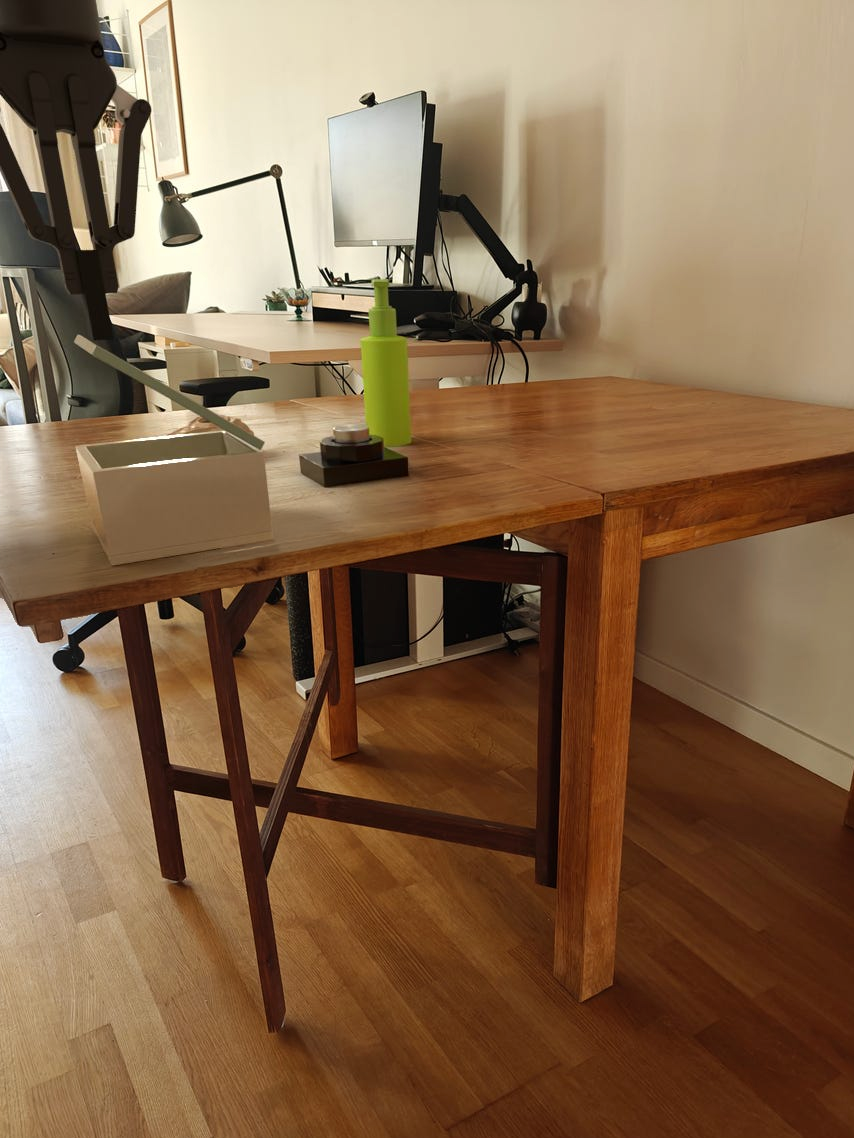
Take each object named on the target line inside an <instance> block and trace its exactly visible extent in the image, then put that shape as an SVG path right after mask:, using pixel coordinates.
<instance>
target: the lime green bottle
mask: <svg viewBox="0 0 854 1138" xmlns="http://www.w3.org/2000/svg"><path fill="white" fill-rule="evenodd" d="M370 284H371V287H373V290H374V291H373V293H374V294H373V295H374V305H373V306H372V307H371V308H369V309H368V322H369V323H368V324H369V325H368V326H369V336H364V337H362V338H360V339H359V340H360V355H361V371H362V384H363V401H364V416H365V417H364V418H365V425H366V426H368V427H369V434H370V435H377V436H380V437H382V438H383V441H384V447H386V448H391V447H392V448H393V447H401V446H402V447H403V446H406V445H409V444H411V443H412V425H411V424H412V420H411V401H410V399H411V398H410V378H409V377H410V376H409V353H408V352H409V351H408V338H407V337H404V336H401V335H398V330H397V329H398V328H397V327H398V326H397V311H396V310H397V309H396V308H394V307H393V306H392V305H389V304H390V303H389V287H390V280H389V279H388V278H376V279H375V278H372V279H371V282H370Z"/></svg>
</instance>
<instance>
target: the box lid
mask: <svg viewBox="0 0 854 1138" xmlns="http://www.w3.org/2000/svg"><path fill="white" fill-rule="evenodd" d="M73 343H74V344H75V345H77V346H78V347H80V348H81V349H83V350H84V351H85V352H87V353H89V354H90V355H92V356H93V357H94V358H96V359H98V360H100V361H102V362H104V363H105V364H107V365H109V366H110V367H113V368H115V369H116V370H118V371H119V372H122V373H123V374H125V375H126V376H128V377H130V378H132V379H134V380H135V381H137V382H139V383H141V384H142V385H144V386H146V387H148V388H150V389H151V390H153V391H155V392H157V393H158V394H160V395H162V396H164V397H165V398H168V399H169V400H170V401H173V402H174V403H176V404H178V405H180V406H181V407H183V408H184V409H187V410H188V411H190V412H192V413H194V414H196V415H197V416H198V417H200V416H201V417H203V418H204V419H206V420H208V421H210V422H211V423H213V424H215V425H217V426H218V427H220V428H222V429H224V430H226V431H227V432H229V433H231V434H233V435H234V436H236V437H238V438H240V439H241V440H243V441H245V442H247V443H248V444H250V445H252V446H254V447H256V448H257V449H259V450H261V451H262V449H263V448H264V445H265V444H266V442H265V440H263V439H261V438H259V437H258V436H255V434H254V435H252V434H250V433H249V432H247V431H245V430H244V429H242V428H240V427H239V426H237V425H235V424H233V423H232V422H230V421H228V420H227V419H225V418H223V417H221V416H220V415H221V414H218V413H216V412H215V411H213V410H211V409H209V408H207V407H205V406H204V405H203V404H200V403H199V402H197V401H195V400H194V399H192V398H190V397H188V396H187V395H185V394H183V393H181V392H180V391H178V390H177V389H174V388H173V387H171V386H169V385H168V384H165V383H164V382H162V381H161V380H159V379H157V378H155V377H153V376H151V375H150V374H148V372H147V373H146V372H145V371H143V370H141V369H140V368H138V367H136V366H135V365H133V364H131V363H129V362H128V361H126V360H125V359H122V358H120V357H118V356H117V355H116V354H114V353H112V352H110V351H109V350H107V349H105V348H104V347H102V346H100V345H98V344H96V343H94V342H93V341H91V340H89V339H88V338H86V337H84V336H83V335H80V334H77V335H76V337H75V338H74V341H73Z"/></svg>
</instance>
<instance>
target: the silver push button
mask: <svg viewBox="0 0 854 1138" xmlns="http://www.w3.org/2000/svg"><path fill="white" fill-rule="evenodd" d="M332 436H333V437H334V443H339V444H358V443H366V442H369V441H370V436H369V427H368V426H366V424H358V423H352V424H350V423H349V424H339V425H336V426H334V427H333V428H332Z"/></svg>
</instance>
